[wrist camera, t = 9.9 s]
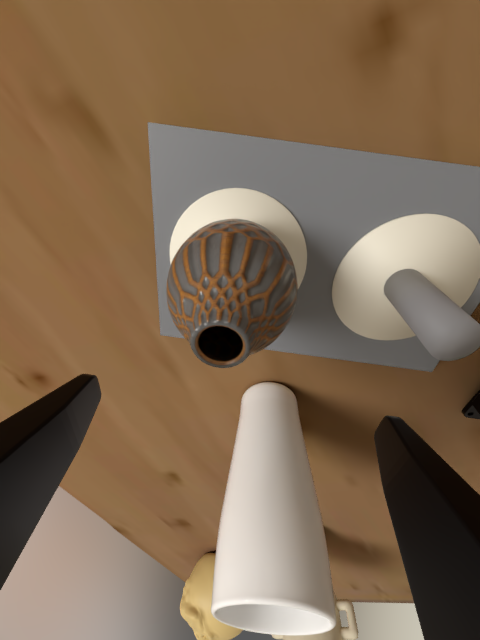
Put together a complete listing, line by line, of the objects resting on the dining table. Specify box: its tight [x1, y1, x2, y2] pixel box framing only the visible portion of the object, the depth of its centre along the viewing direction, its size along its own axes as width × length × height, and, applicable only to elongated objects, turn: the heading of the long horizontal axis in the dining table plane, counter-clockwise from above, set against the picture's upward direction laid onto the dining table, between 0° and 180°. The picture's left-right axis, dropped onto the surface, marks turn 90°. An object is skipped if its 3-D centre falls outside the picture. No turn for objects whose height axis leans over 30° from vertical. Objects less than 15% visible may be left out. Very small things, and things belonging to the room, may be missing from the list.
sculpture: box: [180, 553, 242, 640], centre depth 47 cm, size 12×12×11 cm
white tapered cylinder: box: [211, 382, 337, 636], centre depth 21 cm, size 7×7×15 cm
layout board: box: [148, 122, 480, 372], centre depth 16 cm, size 22×14×7 cm, turn 84°
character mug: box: [272, 590, 358, 640], centre depth 37 cm, size 11×7×13 cm, turn 117°
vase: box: [166, 219, 298, 368], centre depth 14 cm, size 7×7×9 cm
